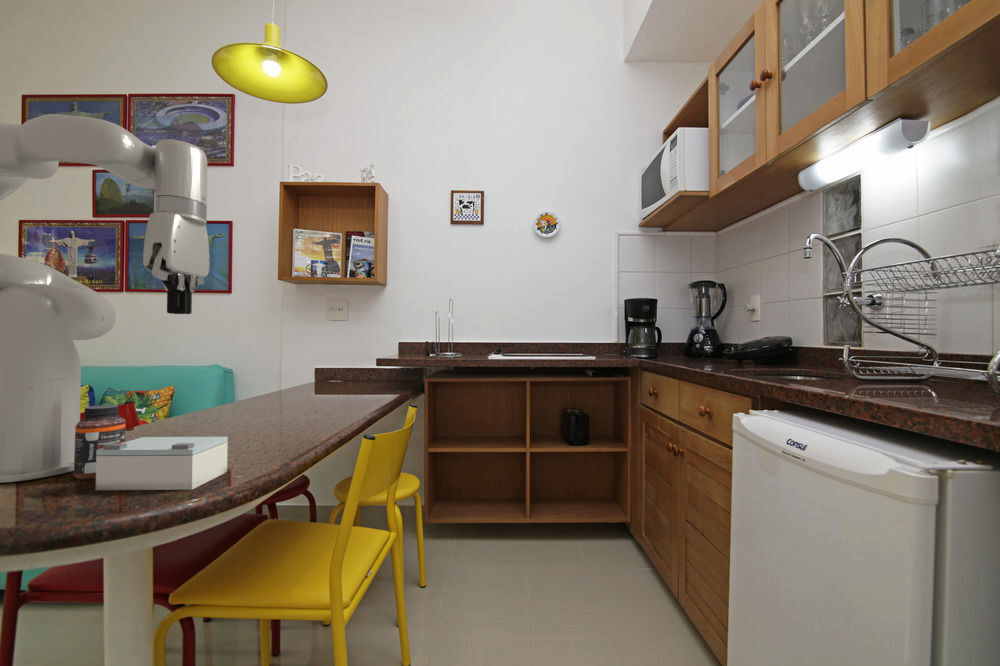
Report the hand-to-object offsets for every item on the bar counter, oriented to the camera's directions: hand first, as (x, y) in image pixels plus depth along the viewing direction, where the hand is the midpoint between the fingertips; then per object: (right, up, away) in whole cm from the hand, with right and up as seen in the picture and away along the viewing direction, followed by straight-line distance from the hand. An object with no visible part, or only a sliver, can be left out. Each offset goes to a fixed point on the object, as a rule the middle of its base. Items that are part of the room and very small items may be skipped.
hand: (179, 313), depth 73 cm
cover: (+5, -22, -9) cm, 24 cm away
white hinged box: (+5, -27, -9) cm, 29 cm away
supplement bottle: (-8, -27, -7) cm, 29 cm away
